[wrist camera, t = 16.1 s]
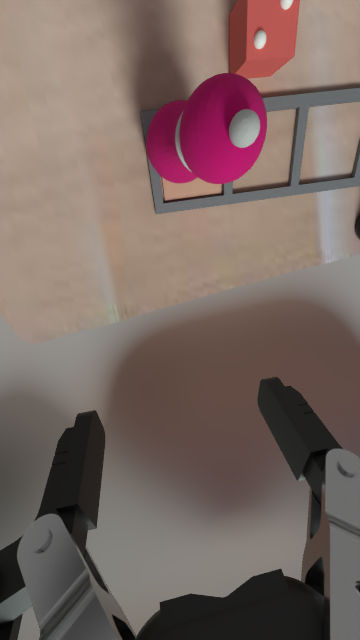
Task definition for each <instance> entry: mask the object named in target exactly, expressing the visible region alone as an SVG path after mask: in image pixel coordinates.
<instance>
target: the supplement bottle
mask: <svg viewBox="0 0 360 640" xmlns="http://www.w3.org/2000/svg"><path fill="white" fill-rule="evenodd" d="M356 234H357V237H358V238H359V239H360V216H359V218H358V221H357V224H356Z"/></svg>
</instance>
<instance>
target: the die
mask: <svg viewBox="0 0 360 640" xmlns="http://www.w3.org/2000/svg"><path fill="white" fill-rule="evenodd" d="M299 4H300V0H237V2H236V4H235V6H234V7H233V9H232V11H231V13H230V15H229V73H233V74H237V75H240V76H243V77H244V78H246V79H247V78H257V77H267V76H271V75H272V74H274V73H275V72H276V71H277V70H278V69H280V68H281V67H282V66H283V65H284V64H286V63H287V62H288V61H289V60H290V59H292V58H293V57H294V55H295V45H296V35H297V24H298V14H299Z"/></svg>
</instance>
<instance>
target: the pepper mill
mask: <svg viewBox="0 0 360 640" xmlns="http://www.w3.org/2000/svg"><path fill="white" fill-rule="evenodd" d="M266 130H267V115H266V108H265V105H264V101H263V98H262V96H261V94H260V93H259V91H258V89H257V88H256V87H255V86H254V85H253V84H252V83H251V82H250V81H249V80H248V79H246V78H244V77H243V76H240V75H237V74H233V73H223V74H218V75H215V76H213V77H211V78H209V79H207V80H205V81H204V82H203V83H201V84H200V85H199V86H198V87H197V89H196V90H195V91H194V92H193V93H192V95H191V96H190V98H189V99H188V101H184V100H177V101H173V102H170V103H168V104H166V105H164V106H163V107H161V108H160V109H159V110H158V111H157V113H156V114H155V115H154V117H153V118H152V120H151V123H150V125H149V129H148V133H147V139H146V150H147V155H148V158H149V161H150V163H151V165H152V166H153V167H154V169H155V170H156V171H157V173H158V174H159V175H160V176H161V177H163V178H164V179H165V180H167V181H169V182H172V183H187V182H191V181H193V180H195V179H196V178H199V179H201V180H203V181H205V182H208V183H211V184H225V183H229V182H232V181H234V180H236V179H238V178H240V177H241V176H242V175H244V174H245V173H246V172H247V171H248V170H249V169H250V168H251V167H252V166H253V164H254V163H255V161H256V160H257V158H258V156H259V154H260V152H261V150H262V147H263V144H264V141H265V136H266Z"/></svg>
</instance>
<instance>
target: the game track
mask: <svg viewBox="0 0 360 640" xmlns="http://www.w3.org/2000/svg"><path fill="white" fill-rule="evenodd" d="M263 101H264V105H265V108H266V112H268V111H277V110H286V109H295V108H297V112H296V122H295V131H294V140H293V149H292V158H291V167H290V176H289V185H288V186H286V187H279V188H272V189H264V190H257V191H250V192H242V193H235V194H233V181H232V182H229V183H225V184H223V195H220V196H213V197H205V198H198V199H191V200H183V201H176V202H169V203H163V196H162V189H161V181H160V175H159V174H158V173H157V171H156V170H155V169H154V167H153V166H152V165H151V163H150V161H149V158H148V164H149V171H150V177H151V184H152V191H153V197H154V204H155V211H156V214H161V213H169V212H176V211H183V210H190V209H197V208H205V207H212V206H219V205H226V204H233V203H241V202H248V201H255V200H262V199H269V198H277V197H284V196H291V195H298V194H305V193H313V192H320V191H327V190H334V189H341V188H349V187H356V186H360V141H359V145H358V150H357V154H356V159H355V163H354V168H353V172H352V177H351V178H345V179H338V180H331V181H323V182H316V183H308V184H301V185H299V178H300V171H301V163H302V155H303V147H304V140H305V132H306V124H307V116H308V109H309V107H314V106H323V105H332V104H341V103H350V102H359V101H360V88H353V89H343V90H334V91H324V92H315V93H306V94H296V95H287V96H277V97H268V98H263ZM158 110H159V109H155V110H146V111H141V117H142V124H143V131H144V137H145V144H146V139H147V133H148V129H149V125H150V123H151V120H152V118H153V117H154V115H155V114H156V113H157V111H158ZM146 151H147V150H146ZM147 157H148V155H147ZM162 182H163V190H164V197H165V201H166V200H173V199H181V198H188V197H196V196H203V195H211V194H218V193H221V184H211V183H208V182H205V181H203V180H201V179H199V178H196V179H195V180H193V181H191V182H187V183H172V182H169V181H167V180H165V179H164V178H163V177H162Z"/></svg>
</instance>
